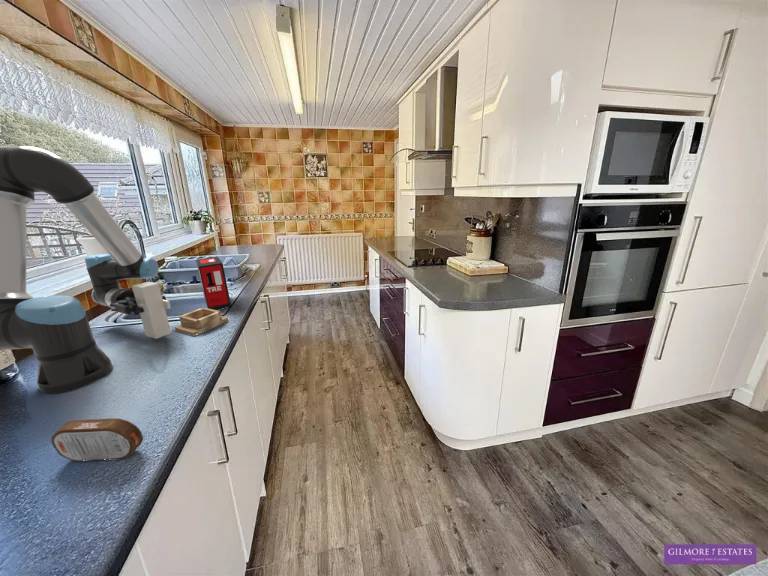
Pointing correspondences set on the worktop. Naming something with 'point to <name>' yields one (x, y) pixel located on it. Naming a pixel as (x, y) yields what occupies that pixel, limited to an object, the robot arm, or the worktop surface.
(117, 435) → the tin
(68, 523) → the worktop surface
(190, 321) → the wooden box
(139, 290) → the white rectangular block
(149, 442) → the worktop surface
